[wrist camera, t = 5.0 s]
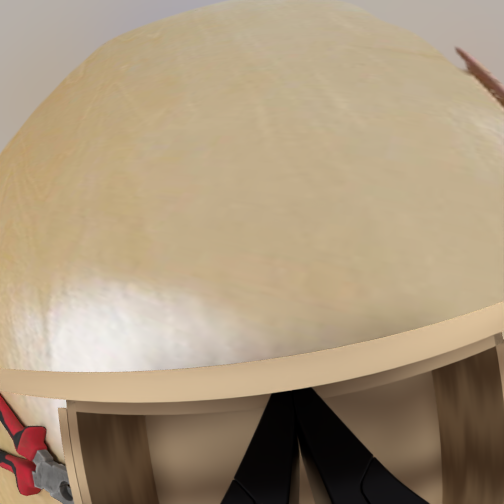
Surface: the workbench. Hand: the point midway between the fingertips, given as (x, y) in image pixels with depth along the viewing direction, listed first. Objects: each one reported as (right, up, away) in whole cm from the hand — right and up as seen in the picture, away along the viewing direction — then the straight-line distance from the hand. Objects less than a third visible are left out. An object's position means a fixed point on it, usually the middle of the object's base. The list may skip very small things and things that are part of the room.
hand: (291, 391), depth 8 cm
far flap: (0, 0, 0) cm, 0 cm away
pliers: (-23, -15, +12) cm, 29 cm away
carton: (+2, -13, +9) cm, 16 cm away
